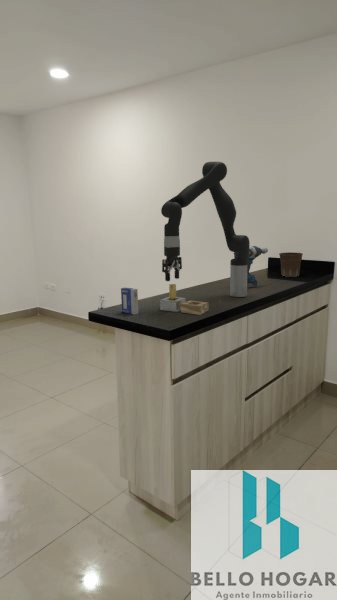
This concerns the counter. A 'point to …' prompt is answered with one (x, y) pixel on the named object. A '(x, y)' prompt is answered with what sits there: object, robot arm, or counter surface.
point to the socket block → (171, 304)
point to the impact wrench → (253, 253)
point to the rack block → (195, 307)
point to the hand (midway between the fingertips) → (172, 279)
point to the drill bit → (172, 291)
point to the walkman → (129, 300)
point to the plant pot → (290, 264)
